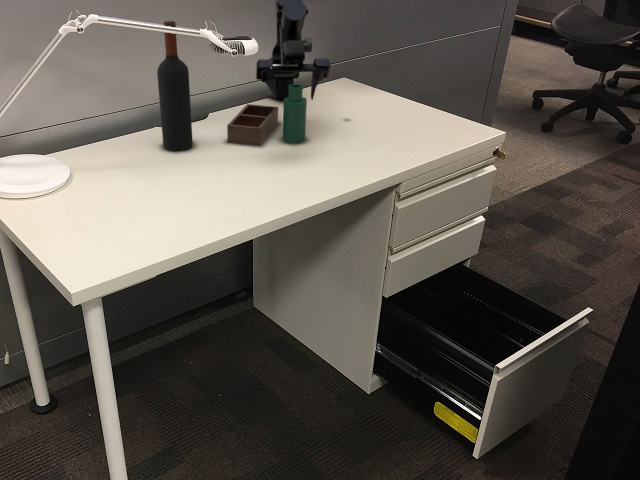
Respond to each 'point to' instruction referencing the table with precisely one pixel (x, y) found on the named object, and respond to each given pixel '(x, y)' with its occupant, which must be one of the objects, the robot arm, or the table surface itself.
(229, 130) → the carrier
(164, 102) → the wine bottle
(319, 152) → the table surface
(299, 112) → the bottle
